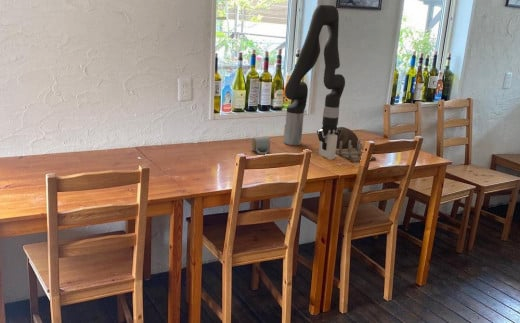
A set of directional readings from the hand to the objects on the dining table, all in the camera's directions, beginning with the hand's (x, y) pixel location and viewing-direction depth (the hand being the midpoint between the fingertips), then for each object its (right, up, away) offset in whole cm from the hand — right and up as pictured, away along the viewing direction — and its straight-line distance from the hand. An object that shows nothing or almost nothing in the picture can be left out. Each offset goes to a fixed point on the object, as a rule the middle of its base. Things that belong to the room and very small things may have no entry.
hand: (327, 149), depth 241 cm
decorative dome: (+11, +3, +25) cm, 28 cm away
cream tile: (0, -3, +1) cm, 4 cm away
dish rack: (+14, -3, +4) cm, 15 cm away
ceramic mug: (-33, -1, +1) cm, 33 cm away
